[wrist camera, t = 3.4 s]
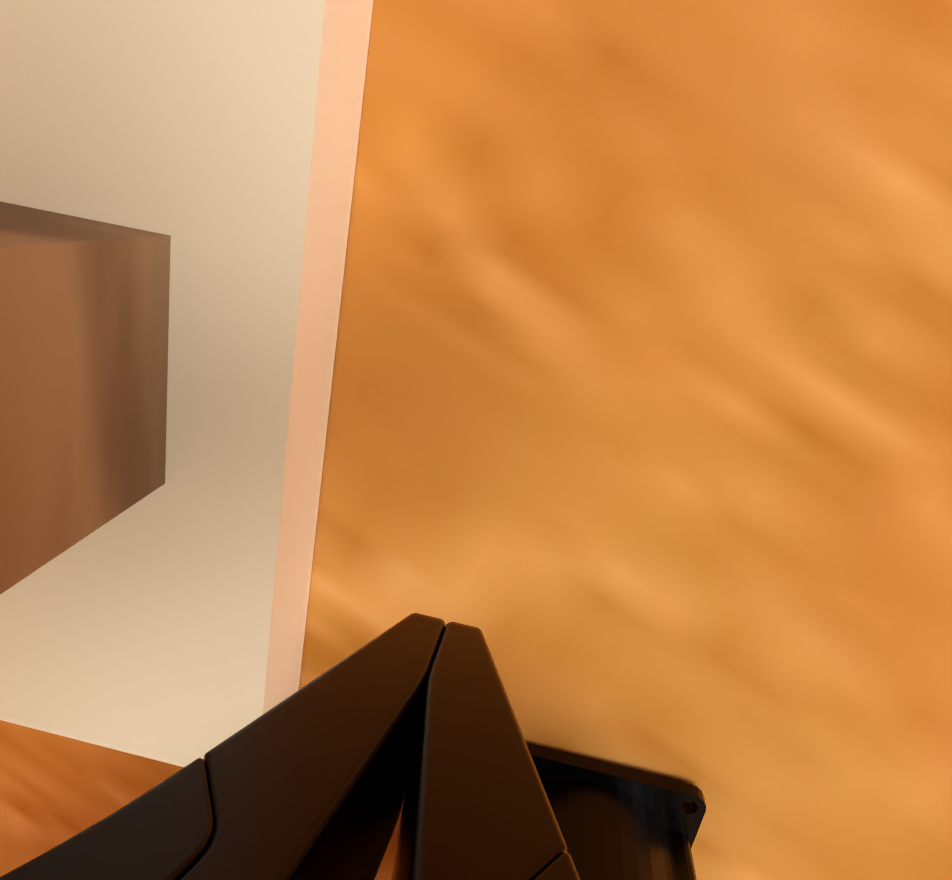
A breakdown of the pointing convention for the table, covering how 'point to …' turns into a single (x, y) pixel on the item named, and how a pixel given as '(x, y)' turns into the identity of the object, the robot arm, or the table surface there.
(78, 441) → the walnut block
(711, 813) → the table surface
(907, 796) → the table surface
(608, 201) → the table surface
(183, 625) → the trap deck
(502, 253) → the table surface
